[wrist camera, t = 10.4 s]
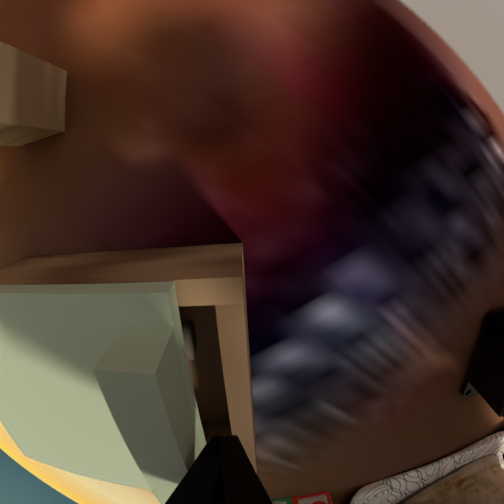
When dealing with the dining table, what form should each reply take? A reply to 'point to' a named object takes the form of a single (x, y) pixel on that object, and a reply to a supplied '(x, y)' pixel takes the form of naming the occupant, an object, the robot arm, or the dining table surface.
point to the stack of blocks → (307, 499)
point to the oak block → (29, 97)
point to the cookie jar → (446, 479)
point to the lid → (100, 381)
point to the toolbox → (191, 316)
